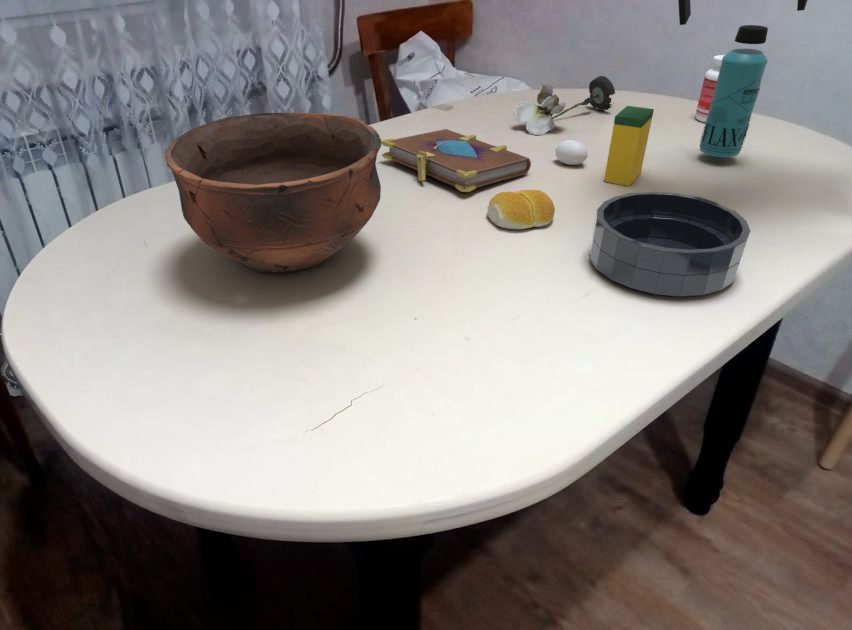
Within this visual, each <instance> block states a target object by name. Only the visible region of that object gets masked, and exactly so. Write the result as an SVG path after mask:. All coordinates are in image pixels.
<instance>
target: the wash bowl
mask: <svg viewBox="0 0 852 630" xmlns="http://www.w3.org/2000/svg"><path fill="white" fill-rule="evenodd" d="M592 229H593V231H592V236H591V242H590V247H589V261H590V262H591V263H592V265H593V266H594V268H595V269H596V270H597V271H598V272H600V273H601V274H602V275H604V276H605V277H607V278H608V279H609V280H611V281H612V282H615V283H618V284H620V285H622V286H624V287H627V288H629V289H633V290H637V291H641V292H645V293H648V294H652V295H659V296H668V297H669V296H670V297H694V296H696V297H697V296H704V295H709V294H711V293H716V292H720V291H722V290H724V289H725V288H727V287H728V286H730V285H732V284H733V283H734V281H735V279H736V276H737V274H738V272H739V268H740V265H741V262H742V259H743V257H744V252H745V249H746V247H747V243H748V240H749V237H750V234H751V228H750V226H749V223H748V221H747V219H745V218H744V217H743V216H741V215H740V214H739V213H738V212H737V211H735V210H733V209H731V208H730V207H727V206H725V205H723V204H721V203H719V202H716V201H713V200H709V199H706V198H703V197H700V196H696V195H688V194H684V193H679V192H668V191H666V192H665V191H637V192H629V193H625V194H619V195H615V196H613V197H611V198H608V199H607V200H605V201H603V202H602V203H601V204H600V205H599V207H598V208H597V209H596V211H595V218H594V224H593V228H592Z"/></svg>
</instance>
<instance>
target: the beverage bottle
mask: <svg viewBox="0 0 852 630" xmlns="http://www.w3.org/2000/svg"><path fill="white" fill-rule="evenodd" d="M768 31H769V28H768V27H767V26H764V25H757V24H756V25H755V24H746V25H740V26H739V27H738V30H737V32H736V35H735V39H734V42H736V43H738V44H739V43H740V44H744V45H763V44H765V43H766V41H767V35H768ZM724 55H725V56H724V57H723V58H722V64H721V67H720V71H719V75H718V79H717V83H716V87H715V91H714V95H713V98H712V102H711V104H710V105H709V106H710V109H709V112H707V115H708V116H707V117H706V118H707V120H706V123H703V130H702V132H701V136H700V142H699V151H700V152H701V153H703V154H704V155H707V156H711V157H717V158H719V157H720V158H732V157H736V156H739V154H740V153H741V151H742V149H743V147H744V143H745V142H746V140H745V139H746V137H747V135H748V131H749V127H750V122H751V119H752V113H753V112H754V111H753V110H754V107H755V105H756V103H757V102H758V100H757V99H758V97H759V93H760V91H761V84H762V79H763V76H764V73H765V70H766V66H767V64H768V57H767V56H766V54H765V53H764V52H763V51H762V50H759V49H754V48H733V49H732V50H730V51H728V52H727V53H726V54H724Z"/></svg>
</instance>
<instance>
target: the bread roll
mask: <svg viewBox="0 0 852 630" xmlns="http://www.w3.org/2000/svg"><path fill="white" fill-rule="evenodd" d="M486 210H487V211H486V215H487V217H488V218H489V220H490V221H491V222H492V223H493V224H495V225H496V226H498V227H499V228H503V229H509V230H526V229H530V228H533V227H535V228H540V227H541V228H542V227H544V226H547V225H549V224H550V223H551V222H552V220H553V219H554V217H555V213H556V208H555V204H554V201H553V200H552V199H551V197H550V196H549V195H548V194H547V193H545V192H543V191H542V190H540V189H539V190H538V189H521V190H516V191H501V192H498V193H496V194H495V195H494V196H493V197H491V198H490V200H489V202H488V205H487V209H486Z"/></svg>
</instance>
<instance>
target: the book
mask: <svg viewBox="0 0 852 630" xmlns="http://www.w3.org/2000/svg"><path fill="white" fill-rule="evenodd" d="M381 146H384V147H387V148H389V150H388V151H385V152H384V153H382V154H381V157H382V158H383V159H385V160H391V161H394V162H396V163H399V164H401V165H403V166H406V167H408V168H410V169H413V170H415V171H417V181H418V182H422V181H426V176H428V177H431V178H434V179H436V180H438V181H440V182H442V183H445V184H448V185H450V186H452V187H454V188H455V189H456V190H457V191H459V192H464V193H470V192H472V191H473V190H474V191H475V190H476V189H477V188H481V187H484V186H487V185H491V184H494V183H498V182H501V181H505V180H509V179H513V178H516V177H520V176H524V175H528V173H529V171H530V169H531V166H532V161H531V158H529V157H527V156H525V155H522V154H520V153H519V154H518V153H516V152H513V151H510V150H508V146H507V145H505V144H502V145H498V146H496V145H493V144H490V143H487V142H485V141H482V140H479V139H477V135H476V134H469V135H465V134H461V133H459V132H456V131H454V130H453V131H452V130H450V129H448V128H445V129H440V130H435V131H429V132H423V133H419V134H414V135H409V136H404V137H398V138H384V139H383V140H381Z"/></svg>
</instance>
